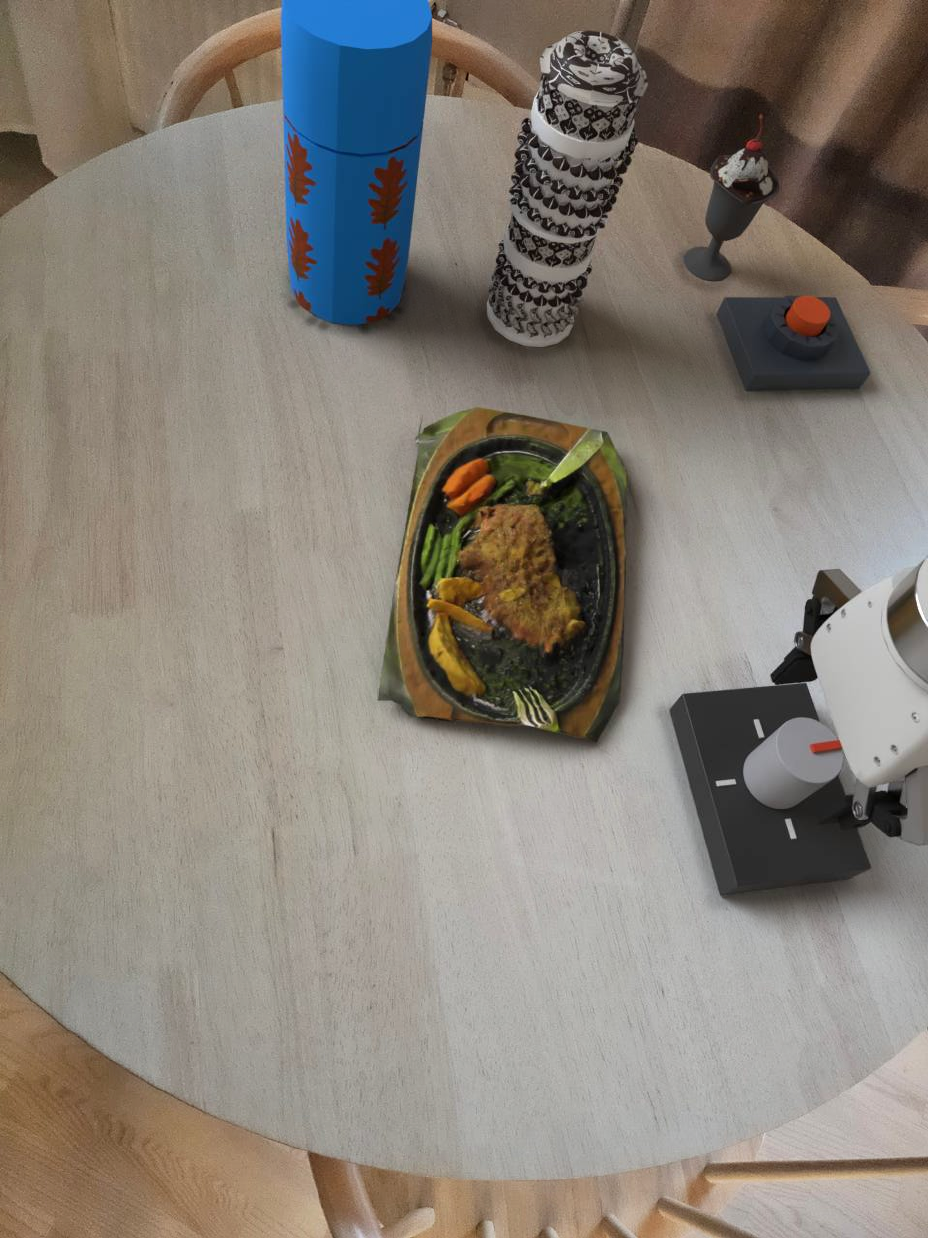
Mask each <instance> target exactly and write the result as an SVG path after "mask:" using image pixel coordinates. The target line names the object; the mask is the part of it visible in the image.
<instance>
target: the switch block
mask: <svg viewBox="0 0 928 1238" xmlns="http://www.w3.org/2000/svg"><path fill="white" fill-rule="evenodd" d="M801 296H802V295H785V296H773V297H771V296H770V297H769V296H767V297H766V296H761V297H760V296H752V297H751V296H750V297H749V296H745V297H744V296H743V297H742V296H733V297H731V296H730V297H729V296H727V297H726V296H725V297H723V299H722V302H721V304H720V306H719V308H718V310H717V311H716V317H717V320H718V322H719V325H720V327H721V330H722V332H723V335H724V338H725V341H726V344H727V346H728V349H729V352H730V354H731V356H732V359H733V362H734V365H735V367H736V371H737V373H738V375H739V378H740V381H741V383H742V386H743V388H744V391H745V392H765V391H766V392H767V391H769V392H770V391H771V392H772V391H811V390H813V391H815V390H855V389H856V390H858V389H860V388H862V386H863V385H864V383H865V382H866V380H868V378H869V376H870V375H871V374H872V373H871V371H870V368H869V366H868V364H867V362H866V360H865V357H864V355H863V353H862V351H861V349H860V347H859V344H858V343H857V340H856V337H855V336H854V334H853V331H852V329H851V328H850V327H851V326H850V325H849V322H848V320H847V318H846V316H845V314H844V312H843V309H842V308H841V305H840V303H839V300H838V299H837V297H836V296H820V297H819V296H814V297H815V298H817V299H819V300H821V301H822V302H824V303H825V304H826V305H827V306H828V308H829V310H830V319H829V320H828V322H827V323H826V325H825V326H824V328H823V330H822V331H821V333H820V334H819V335H817V336H815V337H806V336H804V335H801V334H798V333H796V332H795V331H793V330H792V329H791V328H790V327H789V326H788V325H787V323H786V315H787V313H788V311H789V309H790V308H791V306H792V304H793V302H794V301H795V300H796V299H797V298H798V297H801Z"/></svg>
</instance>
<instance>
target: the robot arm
mask: <svg viewBox="0 0 928 1238" xmlns="http://www.w3.org/2000/svg"><path fill="white" fill-rule="evenodd" d="M811 594H812V596H811V598H808V599H807V600H806V601H805V603H804V614H803V623H802V630H800V631H797V632H795V634H794V639H793V640H794V641H793V642H794V647H793V649H791V650H790V651H789V652H788V653H787V654H786V656H784V658H783V660H782V662H781V663H780V664H779V665H778V666H777V667H776V668H775V669H774V670H773V671H772V672H771V673H770V674H769V676H770V680H771V683H772V684H774V686H776V685H787V684H798V683H811V682H813V681H816V680H817V679H818V682H819V685H820V689H821V691H822V694H823V697H824V700H825V702H826V706H827V709H828V711H829V715H830V717H831V719H832V720H831V721H832V723H833V725H834V728H835V731H836V734H837V738H838V740H840V742H841V745H842V751H843V754H844V755H845V758H846V761H847V764H848V767H849V768H850V770H851V772H852V773H853V774H854V776H855V779H856V780H855V785H854V789H853V790H854V791H853V793H852V794H847V795H846V796H843V797H841V798H839V799H838V800H836V801H834V802H833V803H831V804H830V805H828V806H827V807H825V808H823V809H822V810H820V811H819V812H817V814H818V815H817V816H816V818H817V821H818V824H819V825H822V824H830V823H838V822H839V825H840V828H841V830H851V829H857V828H858V829H860V828H863V827H865V826H867V825H869V824H872V825H873V826H874V827H876V829H878V830H879V831H880V832H882V834H883V835H885V836H887V837H888V838H898V839H900V840H901V841H904V842H907V843H910V844H913V845H915V846H920V847H921V846H928V555H927V556H926V557H925V558H924V559H923V560H922V561H921V562H919V564H917V565H913V566H909V567H905V568H904V569H901V570H899V571H897V572H895V573H892V574H890V575H889V576H887V577H885V578H883V579H881V580H879V581H877V582H876V583H874V584H873V585H870V586H869V587H867V588H866V589H864V590H861V589H860V588H859V587H858V586H857V585H856V584H855V583H854V582H853V581H852V580H851V578H849V576H847V575H846V573H845V572H844V571H843V570H841V569H840V568H832V569H831V568H830V569H820V570H819V571H818V572H817V573H816V576H815V580H814V583H813V586H812V590H811ZM887 784H888V785H887ZM879 785H881V786H882V785H887V790H879V791H877V789H878V788H877V787H878V786H879Z"/></svg>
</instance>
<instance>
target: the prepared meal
mask: <svg viewBox="0 0 928 1238" xmlns="http://www.w3.org/2000/svg"><path fill="white" fill-rule="evenodd" d="M423 417H424V415H422V417H421V420H420V423H419V428H418V432H417V435H416V436H415V440H414V441H415V442H414V445H417V453H416V461H415V467H414V473H413V479H412V484H411V491H410V495H409V502H408V507H407V512H406V513H407V514H406V521H405V526H404V532H403V538H402V543H401V549H400V554H399V560H398V565H397V571H396V577H395V582H394V587H393V594H392V599H391V600H392V601H391V608H390V612H389V613H390V615H389V620H388V627H387V636H386V641H385V647H384V653H383V660H382V661H383V662H382V665H381V666H382V667H381V675H380V681H379V688H378V695H377V702H379V701H381V702H385V701H387V702H391V701H392V702H394V703H396V704H398V705H399V706H400V707H401V708H402V709H403V711H404V712H405V713H406V715H407V716H408V717H410V718H417V719H418V718H419V719H427V720H435V721H441V722H449V723H450V722H452V723H453V722H455V721H457V722H460V723H477V724H486V723H488V724H491V725H498V726H502V727H503V726H504V727H518V726H528V727H532V728H535V729H541V730H543V731H549V732H553V733H557V734H561V735H564V736H568V737H574V738H578V739H583V740H587V741H589V742H593V743H595V744H597V743H598V741H599V740H600V738H601V736H602V734H603V733H604V731H605V729H606V728H607V726H608V724H609V722H610V720H611V719H612V717H613V715H614V713H615V711H616V709H617V708H618V705H619V704H620V701H621V690H622V678H623V665H624V653H625V625H626V623H625V622H626V593H627V592H626V591H627V590H626V589H627V586H626V585H627V521H628V494H627V493H628V487H627V486H628V485H627V481H628V480H627V478H628V477H627V470H626V468H625V466H624V464H623V462H622V460H621V458H620V455H619V453H618V451H617V449H616V448H615V444H614V442H613V441H612V439H611V436H610V434H609V431H606V430H600V429H595V428H590V427H586V426H579V425H575V424H570V423H565V422H561V421H556V420H552V419H545V418H541V417H537V416H532V415H527V414H526V415H525V414H520V413H514V412H508V411H502V410H497V409H491V408H485V407H479V406H474V407H471V408H468V409H465V410H462V411H459V412H455V413H452V414H451V415H448V416H446V417H443V418H441V419H439V420H437V421H435V422H433V423H431V424H430V425H427V426H426V427H424V428H423V430H422V424H423ZM421 430H422V432H421Z"/></svg>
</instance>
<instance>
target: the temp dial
mask: <svg viewBox="0 0 928 1238" xmlns="http://www.w3.org/2000/svg"><path fill="white" fill-rule="evenodd" d="M843 764H844V751H843V748H842V745H841V742H840V740H839V738H838V736H836V734H835V733H834V732H833V731H832V730H831V729H830V728H829V727H828V726H827V725H825V724H824V723H822V722H821V721H820V722H819V721H816V720H814V719H810V718H802V717H801V718H794V719H791V720H789V721H787V722H786V723H784V724H783V725H782V726H781V727H780V728H779V729H777V730H776V731H775V732H774V733H773V734H772V735H771V736H769V737H768V738H767V739H766V740H765V741H764V742H763V743H762V744H760V745H759V746H758V747H757V748H756V749H755V750H754V751H752V752H751V753H750V754H749V755H748V757H747V758H746V761H745V763H744V768H743V775H744V780H745V783H746V786H747V788H748V789H749V791H750V792H751V794H752V795H753V796H754V797H755V798H756V799H757V800H758V801H760V802H761V803H763V804H764V805H766V806H768V807H771V808H775V809H787V808H791V807H793V806H795V805H797V804H798V803H800V802H801V801H802V800H804V799H805V798H807V797H808V796H810V795H811V794H812V793H814V792H815V791H817V790H818V789H820V788H821V787H823V786H824V785H825V784H827V783H828V782H830V781H831V780H833V779H834V778H835V777H836V776H837V775H838V774H839V775H840V772H841V771H842V769H843Z"/></svg>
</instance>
